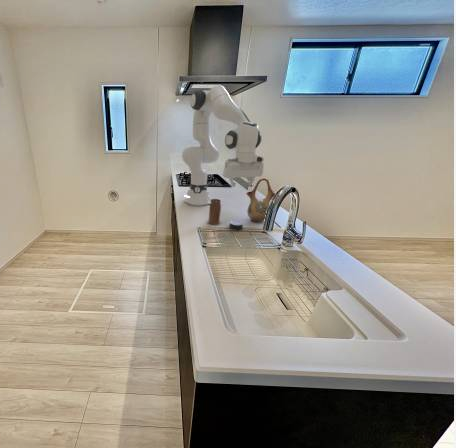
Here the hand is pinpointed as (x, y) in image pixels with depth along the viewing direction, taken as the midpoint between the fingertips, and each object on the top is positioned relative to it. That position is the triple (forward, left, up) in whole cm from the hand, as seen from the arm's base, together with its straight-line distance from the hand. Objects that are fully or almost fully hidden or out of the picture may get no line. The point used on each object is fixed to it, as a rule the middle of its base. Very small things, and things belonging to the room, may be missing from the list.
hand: (241, 185), depth 122 cm
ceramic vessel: (-14, +12, -23) cm, 30 cm away
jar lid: (0, 0, -21) cm, 21 cm away
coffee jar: (-4, -12, -23) cm, 26 cm away
